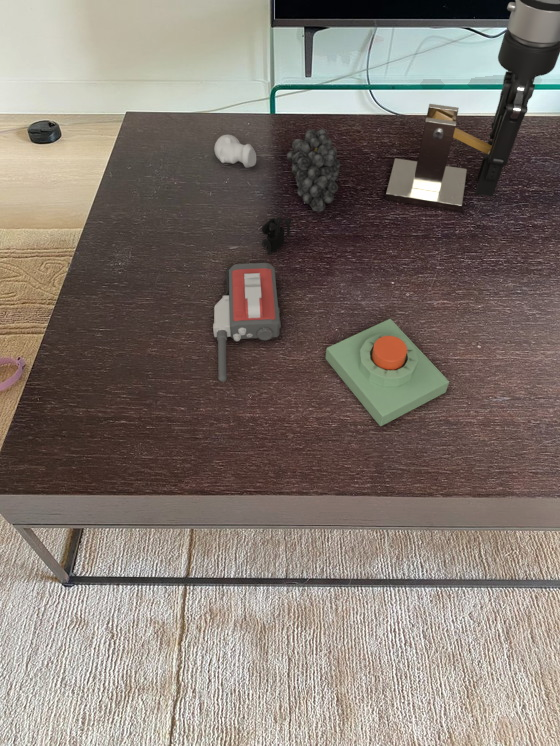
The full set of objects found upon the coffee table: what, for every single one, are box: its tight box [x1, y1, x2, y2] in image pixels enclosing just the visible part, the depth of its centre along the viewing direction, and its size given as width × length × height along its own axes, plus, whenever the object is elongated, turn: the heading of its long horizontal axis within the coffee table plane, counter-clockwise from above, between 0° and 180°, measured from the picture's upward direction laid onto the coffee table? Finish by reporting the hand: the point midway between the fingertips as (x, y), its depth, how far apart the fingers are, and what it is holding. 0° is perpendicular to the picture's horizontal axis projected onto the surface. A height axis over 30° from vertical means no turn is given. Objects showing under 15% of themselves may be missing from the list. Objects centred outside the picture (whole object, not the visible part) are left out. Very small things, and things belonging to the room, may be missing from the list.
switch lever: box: [433, 111, 492, 154], centre depth 94 cm, size 13×3×3 cm, turn 75°
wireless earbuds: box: [261, 216, 292, 257], centre depth 91 cm, size 7×2×5 cm, turn 145°
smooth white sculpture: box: [213, 134, 257, 169], centre depth 105 cm, size 4×8×5 cm
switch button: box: [372, 336, 407, 370], centre depth 75 cm, size 4×4×2 cm
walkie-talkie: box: [212, 262, 282, 383], centre depth 81 cm, size 9×4×20 cm
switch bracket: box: [384, 103, 468, 213], centre depth 97 cm, size 12×10×13 cm
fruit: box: [286, 128, 341, 213], centre depth 98 cm, size 9×8×15 cm
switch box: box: [325, 318, 450, 427], centre depth 77 cm, size 12×10×4 cm
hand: (484, 186), depth 99 cm, fingers closed on switch lever, 3 cm apart
